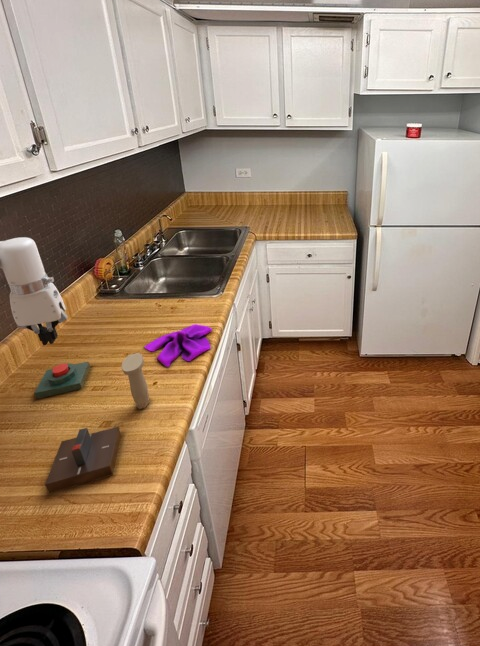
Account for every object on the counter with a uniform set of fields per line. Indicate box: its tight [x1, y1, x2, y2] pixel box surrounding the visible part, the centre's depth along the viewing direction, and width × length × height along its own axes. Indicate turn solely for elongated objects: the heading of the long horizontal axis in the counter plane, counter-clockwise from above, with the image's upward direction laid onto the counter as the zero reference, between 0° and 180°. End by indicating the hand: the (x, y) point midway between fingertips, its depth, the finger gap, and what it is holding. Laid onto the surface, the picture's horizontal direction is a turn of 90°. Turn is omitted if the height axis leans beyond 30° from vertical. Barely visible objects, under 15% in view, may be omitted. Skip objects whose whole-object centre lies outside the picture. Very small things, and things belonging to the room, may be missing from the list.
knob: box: [72, 427, 92, 466], centre depth 75 cm, size 6×2×5 cm, turn 19°
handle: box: [121, 352, 150, 410], centre depth 88 cm, size 5×6×15 cm
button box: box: [33, 361, 91, 400], centre depth 97 cm, size 11×9×4 cm
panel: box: [44, 426, 122, 494], centre depth 76 cm, size 12×10×3 cm
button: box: [52, 363, 69, 377], centre depth 97 cm, size 4×4×2 cm
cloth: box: [144, 324, 213, 368], centre depth 112 cm, size 22×19×6 cm
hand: (50, 341), depth 93 cm, fingers closed
